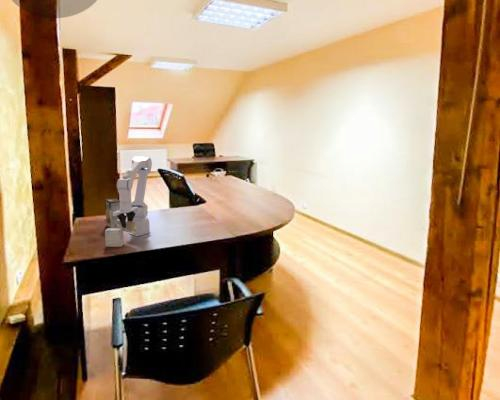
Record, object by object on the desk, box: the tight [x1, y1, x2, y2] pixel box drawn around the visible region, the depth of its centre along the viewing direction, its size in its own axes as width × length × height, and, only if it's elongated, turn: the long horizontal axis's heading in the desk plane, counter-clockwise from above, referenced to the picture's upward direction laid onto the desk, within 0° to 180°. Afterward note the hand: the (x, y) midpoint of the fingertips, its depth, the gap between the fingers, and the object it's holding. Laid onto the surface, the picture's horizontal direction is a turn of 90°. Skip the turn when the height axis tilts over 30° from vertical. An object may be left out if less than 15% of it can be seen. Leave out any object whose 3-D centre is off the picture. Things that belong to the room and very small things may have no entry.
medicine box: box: [104, 227, 124, 248], centre depth 188 cm, size 8×4×9 cm, turn 92°
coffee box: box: [104, 198, 120, 228], centre depth 220 cm, size 9×6×16 cm
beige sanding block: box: [116, 219, 136, 234], centre depth 193 cm, size 3×12×5 cm, turn 55°
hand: (126, 226), depth 193 cm, fingers closed on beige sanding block, 3 cm apart
